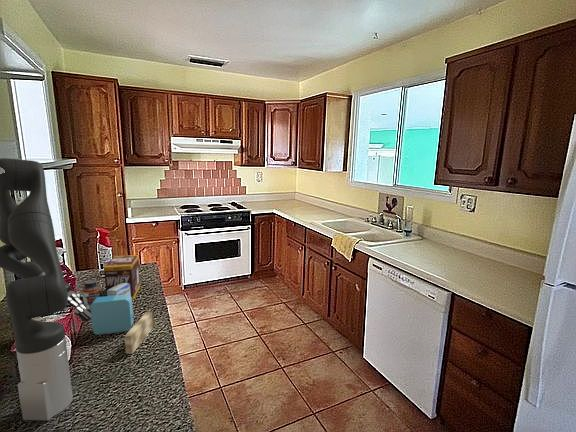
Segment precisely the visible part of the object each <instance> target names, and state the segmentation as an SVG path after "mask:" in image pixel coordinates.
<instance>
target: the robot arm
mask: <svg viewBox="0 0 576 432" xmlns="http://www.w3.org/2000/svg"><path fill="white" fill-rule="evenodd" d="M0 167H1V168H3V169H4V170H5V173H2V174H0V242H2V243H3V244H4V245H2V246H0V268H1V269H3V270H6V271H8V272H10V273H11V274H14V275H16V276H18V277H20V279H16V280H12V281H10V282H9V283H8V285H7V286H6V289H5V301H6V305H7V309H8V314H9V318H10V321H11V326H12V332H13V338H14V346H15V351H16V358H17V364H18V369H19V370H18V371H19V376H20V381H19V382H18V383H17V390H18V396H19V403H20V408H21V409H20V410H21V415H22V421H50V420H51V419H52V418H53V417H54V416H56V415H58V414H60V413H62V412H63V411H64V410H66V409H67V408H68V407H69V406H70V405H71V403H72V401H73V399H74V396H73V388H72V386H73V385H72V379H71V372H70V371H71V370H70V365H69V356H68V355H69V354H68V348H67V347H68V346H67V341H66V331H65V327H64V325H63V324H61V323H59V322H56V321H43V320H36V319H35V318H39V317H44V316H48V315H53V314H56V312H59V311H66V310H68V309H69V308H67V307H71V306H74V307H75V309H76V310H74V313H75V315H76V316H75V317H79V319H81V320H83V322H86V323H88V322H90V321H92V318H91V311H87V310H86V306H87V305H88V303H87V300H86V296H85V293H83V292H80V293H77V292H76V291H74V290H72V289H71V288H72V286H71V284H69V283H68V282H67V281H66V279H65V276H64V273H63V270H62V267H61V266H62V265H61V261H60V259H59V255H58V250H57V244H56V235H55V231H54V230H55V229H54V224H53V220H52V215H51V211H50V208H49V207H50V206H49V202H48V196H47V185H46V184H47V183H46V175H45V174H46V173H45V171H44V170H45V169H44V166H43V165H42V163H40V162H38V161H34V160H30V159H28V160H27V159H18V158H7V157H6V158H0ZM10 191H14V192H30V193H28V196H27V197H26V198H25V199H24V200H23V201H22V202H20V203H19V204H18V203H17V202H16V201H15V199H14V198H13V197H12V195H11V192H10ZM27 258H29V260H30V261H24V260H26V259H27ZM23 259H24V260H23ZM21 260H22V261H21Z"/></svg>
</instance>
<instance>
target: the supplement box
mask: <svg viewBox="0 0 576 432" xmlns="http://www.w3.org/2000/svg"><path fill="white" fill-rule="evenodd" d="M103 272H104V284H105V293H106V296H107V290H109V289H111V288H112V287H114V286H116V285H118V284H120V283H128V284H130V293H131V297H132V301H134V299H135V297H136V295H137V294H138V293H139V290H140V287H141V279H140V278H141V277H140V276H141V275H140V262H139V255H138V254H132V255H131V254H130V255H128V254H127V255H114V256H112V258H111V259H110V260H109V261H108V262H107V263H106V264H105V265H104V267H103Z"/></svg>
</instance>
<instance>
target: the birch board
mask: <svg viewBox="0 0 576 432" xmlns="http://www.w3.org/2000/svg"><path fill="white" fill-rule="evenodd" d="M154 327H155V320H154V311H153V310H146V312H145V313H144V314H143V315H142V316H141V317H140V319H139V320H138V321H136V323H135V324H134V325H132V327H131V329H130V330H129V331H127V333H126V334H125V335H124V345H125V354H128V355H132V354H134V352H135V351H136V350H137V349H138V347H139V346H140V345H141V344H142V342H143V341H144V340H145V339H146V337H147V336H148V334H149V333H150V332H151V331H152V330H153V328H154Z"/></svg>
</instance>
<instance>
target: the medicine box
mask: <svg viewBox="0 0 576 432" xmlns="http://www.w3.org/2000/svg"><path fill="white" fill-rule="evenodd" d="M125 294H128V295H130V296H131V293H130V284H128V283H120V284H118V285H116V286H114V287H112V288H111V289H109V290H107V296H115V295H125Z"/></svg>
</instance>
